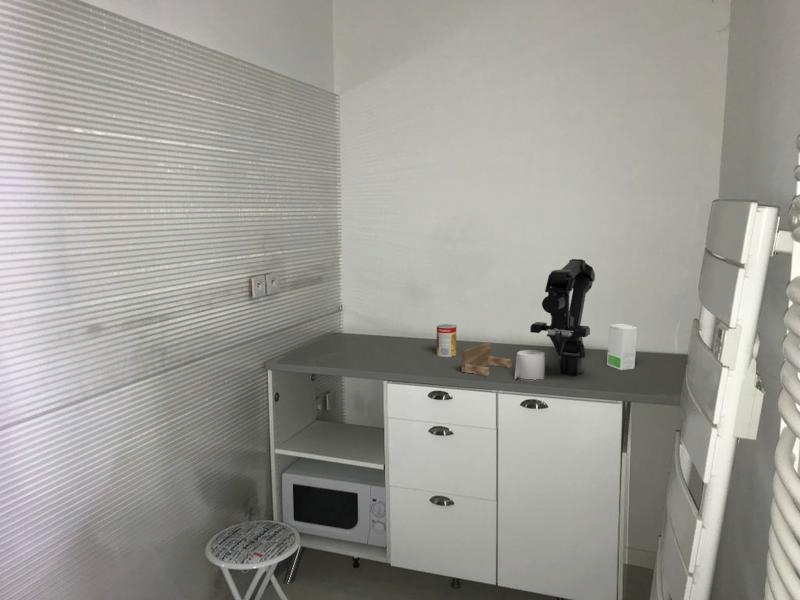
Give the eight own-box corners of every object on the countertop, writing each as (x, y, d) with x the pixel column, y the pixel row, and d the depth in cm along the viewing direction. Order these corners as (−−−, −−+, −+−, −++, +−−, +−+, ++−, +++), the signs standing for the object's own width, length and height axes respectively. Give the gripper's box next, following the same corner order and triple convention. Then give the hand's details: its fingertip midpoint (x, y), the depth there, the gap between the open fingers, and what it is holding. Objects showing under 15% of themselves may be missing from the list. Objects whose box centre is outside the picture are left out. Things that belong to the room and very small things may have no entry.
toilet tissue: (510, 381, 221) (510, 356, 220) (522, 372, 232) (522, 349, 231) (536, 384, 217) (537, 359, 215) (547, 375, 228) (547, 351, 227)
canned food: (456, 352, 265) (456, 323, 263) (456, 357, 257) (456, 327, 255) (437, 352, 265) (437, 323, 264) (436, 357, 258) (436, 327, 256)
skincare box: (606, 365, 241) (607, 324, 239) (620, 363, 243) (622, 322, 241) (621, 370, 233) (623, 328, 231) (636, 368, 236) (638, 326, 233)
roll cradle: (511, 367, 240) (511, 346, 239) (486, 376, 227) (486, 354, 226) (486, 363, 246) (487, 342, 245) (461, 372, 233) (461, 350, 232)
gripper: (595, 307, 217) (593, 352, 220) (541, 303, 227) (540, 347, 229) (585, 312, 208) (584, 359, 210) (530, 308, 217) (529, 353, 220)
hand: (559, 354), depth 218 cm, fingers closed
